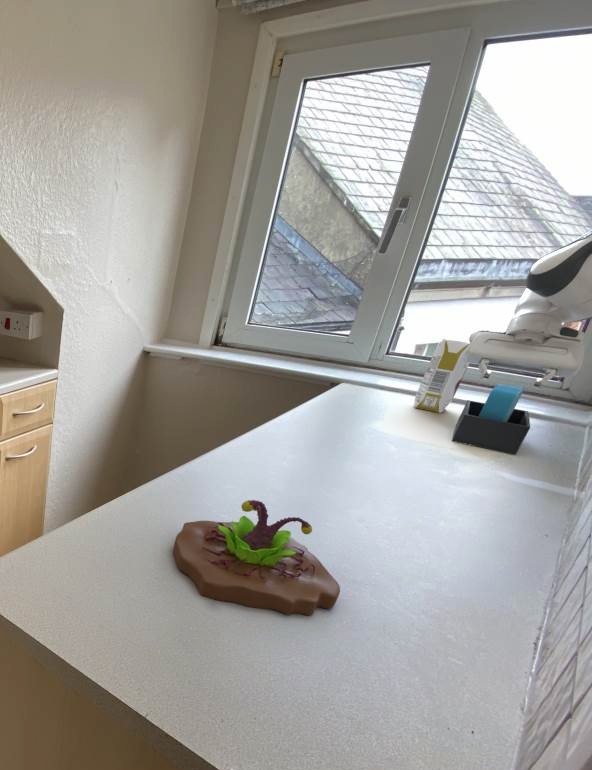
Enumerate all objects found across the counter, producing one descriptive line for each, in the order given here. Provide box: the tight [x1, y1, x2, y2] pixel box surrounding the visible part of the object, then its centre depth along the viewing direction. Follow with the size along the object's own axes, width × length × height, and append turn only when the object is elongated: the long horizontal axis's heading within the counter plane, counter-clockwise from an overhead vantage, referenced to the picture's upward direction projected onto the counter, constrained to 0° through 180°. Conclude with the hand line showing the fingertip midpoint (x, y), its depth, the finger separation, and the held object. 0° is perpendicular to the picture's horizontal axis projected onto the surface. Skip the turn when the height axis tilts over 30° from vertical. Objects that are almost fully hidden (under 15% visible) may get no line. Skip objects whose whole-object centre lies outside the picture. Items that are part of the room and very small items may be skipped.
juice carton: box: [413, 335, 470, 414], centre depth 148 cm, size 8×9×19 cm
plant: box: [172, 499, 341, 616], centre depth 76 cm, size 20×20×11 cm
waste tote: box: [451, 400, 531, 456], centre depth 130 cm, size 11×16×7 cm
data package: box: [479, 382, 525, 422], centre depth 129 cm, size 12×4×12 cm, turn 130°
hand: (510, 382), depth 130 cm, fingers open, 8 cm apart
